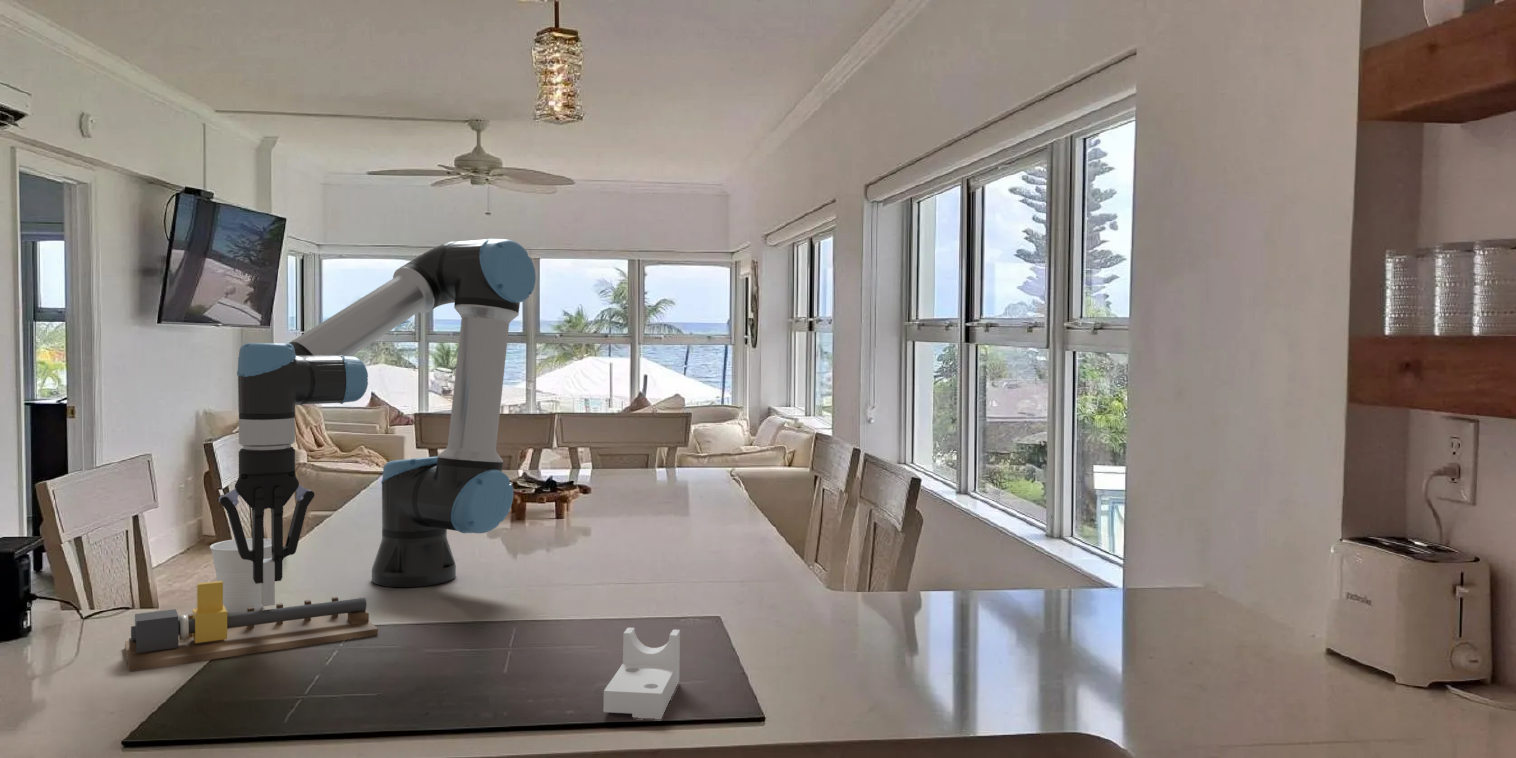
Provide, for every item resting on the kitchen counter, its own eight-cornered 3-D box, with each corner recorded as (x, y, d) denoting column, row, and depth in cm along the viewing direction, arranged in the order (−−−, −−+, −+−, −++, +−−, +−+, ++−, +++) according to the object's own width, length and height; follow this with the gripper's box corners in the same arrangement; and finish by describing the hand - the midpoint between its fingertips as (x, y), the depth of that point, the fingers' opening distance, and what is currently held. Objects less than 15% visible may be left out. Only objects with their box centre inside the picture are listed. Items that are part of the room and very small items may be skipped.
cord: (363, 608, 154) (363, 596, 154) (366, 611, 153) (366, 599, 152) (130, 639, 136) (130, 624, 136) (131, 642, 135) (131, 628, 135)
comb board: (358, 616, 159) (359, 592, 159) (377, 635, 149) (377, 609, 149) (125, 647, 140) (125, 620, 140) (129, 671, 130) (129, 641, 130)
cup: (248, 619, 156) (248, 551, 155) (194, 615, 158) (195, 547, 157) (289, 604, 165) (290, 540, 165) (239, 600, 167) (239, 536, 167)
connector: (186, 637, 141) (186, 607, 141) (189, 645, 138) (189, 615, 138) (134, 644, 138) (134, 613, 138) (136, 653, 134) (136, 621, 134)
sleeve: (223, 631, 144) (223, 578, 144) (227, 638, 141) (227, 583, 140) (192, 636, 142) (192, 581, 141) (195, 643, 138) (195, 587, 138)
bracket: (626, 683, 131) (627, 627, 131) (679, 685, 130) (679, 629, 130) (603, 719, 118) (604, 657, 118) (661, 722, 117) (662, 660, 117)
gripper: (309, 442, 151) (310, 592, 152) (214, 446, 144) (215, 603, 145) (319, 446, 145) (319, 603, 146) (220, 451, 138) (221, 616, 139)
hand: (267, 603), depth 146 cm, fingers closed
